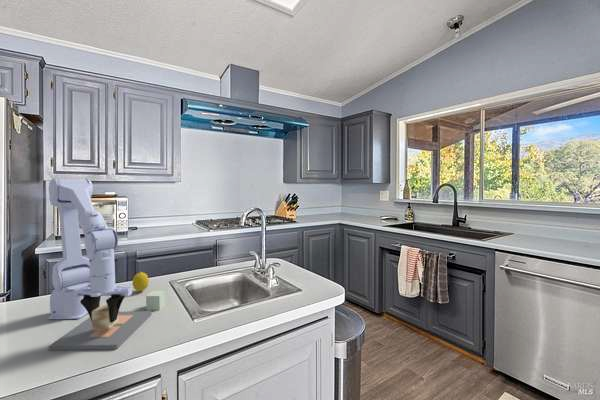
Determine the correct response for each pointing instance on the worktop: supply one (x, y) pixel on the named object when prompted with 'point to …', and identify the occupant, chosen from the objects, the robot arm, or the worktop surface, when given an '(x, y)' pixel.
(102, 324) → the maple block
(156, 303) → the sage block
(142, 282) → the lemon
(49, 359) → the worktop surface
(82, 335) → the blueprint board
